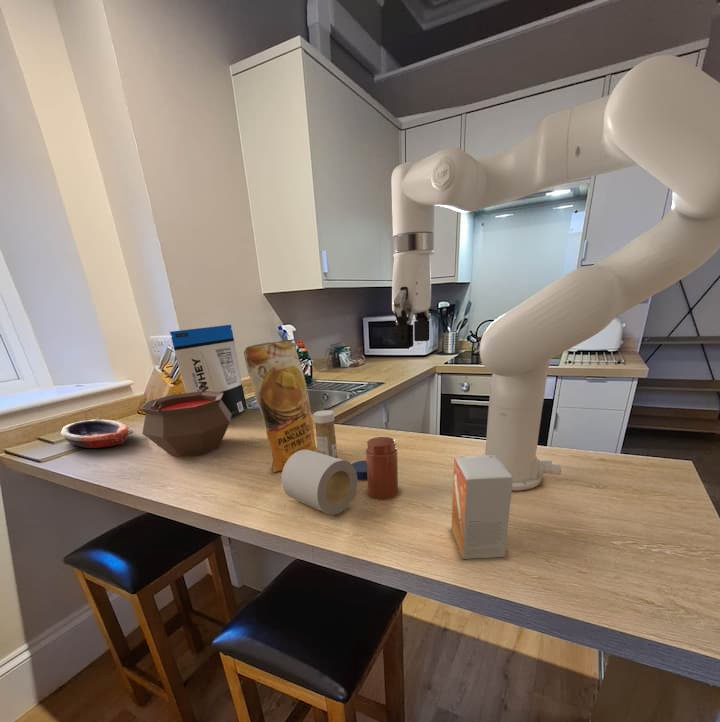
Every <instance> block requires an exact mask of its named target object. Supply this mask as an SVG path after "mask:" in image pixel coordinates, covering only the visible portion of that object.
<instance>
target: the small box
mask: <svg viewBox="0 0 720 722" xmlns="http://www.w3.org/2000/svg"><path fill="white" fill-rule="evenodd" d="M512 482H513V476H512V475H511V474H510V473H509V471H508V470H507V469H506V467H505V466H504V464H502V463H501V462H500V460H499V459H498V458H497V457H496V456H495V455H485V454H484V455H471V456H469V455H468V456H459V457H454V458H453V478H452V502H451V503H452V505H451V527H450V528H451V532H452V534H453V537H454V539H455V541H456V542H455V543H456V544H457V547H458V550H459V552H460V555H461V558H462V559H463V560H472V559H491V558H492V559H493V558H504V557H505V556H506V548H507V539H508V529H509V519H510V510H511V502H512V501H511V500H512V491H513V490H512Z"/></svg>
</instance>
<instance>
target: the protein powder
mask: <svg viewBox="0 0 720 722" xmlns="http://www.w3.org/2000/svg"><path fill="white" fill-rule="evenodd" d="M169 333H170V334H169V335H170V336H171V337H170V338H171V343H172V346H173V350H174V354H175V358H176V362H177V365H178V369H179V374H180V377H181V381H182V384H183V388H184V393H191V392H200V391H201V390H200V389H199V388H198V386H199V385H200V383H201V382H202V383H203V384H204V385H205V386H207V389H206V390H205V391H209V392H220V393H223V396H222V398H221V400H222V401H223V403H224V404H225V406H226V407H227V408H228V410H229V411H230V413H231V414H232V416H231V419H234V418H235V417H239V416H240V415H241V414H243V413H244V412H245V411H246V410H248V407H247V401H246V397H245V393H244V392H245V391H244V386H243V382H242V377H241V371H240V365H239V360H238V354H237V349H236V343H235V338H234V332H233V329H232V324H223V325H216V326H215V325H214V326H208V327H207V326H206V327H198V328H191V329H190V328H189V329H182V330H181V329H180V330H173V331H169ZM201 388H202V389H204V387H203V386H201Z"/></svg>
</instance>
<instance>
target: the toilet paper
mask: <svg viewBox="0 0 720 722" xmlns="http://www.w3.org/2000/svg"><path fill="white" fill-rule="evenodd" d="M358 481H359V480H357V473H356V470H355V468H354V466H353V465H352V463H351V462H350V461H347V460H344V459H342V458H334V457H331V456H328V455H324V454H321V453H318V451H316V452H314V451H311V450H300V451H298V452H296V453H294V454H293V455H292V456H291V457H290V458H289V459H288V460H287V462H286V464H285V466H284V468H283V471H282V472H281V487H282V490H283V492H284V493H285V495H286V496H287V497H289V498H290V499H292V500H295V501H297V502H298V503H299V502H300V503H302V504H304V505H305V506H306V505H307V506H308V507H311V508H313V509H316V510H318V511H320V512H323V513H325V514H327V515H331V516H333V515H338V514H340V513H342V512H344V511H345V510H346V509H347V508H348V507H349V506H350V504H351V503H352V502H353V500H354V498H355V496H356V492H357V488H358Z"/></svg>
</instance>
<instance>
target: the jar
mask: <svg viewBox="0 0 720 722" xmlns="http://www.w3.org/2000/svg"><path fill="white" fill-rule="evenodd" d="M396 445H397V444H396V440H395V439H394V438H393V437H388V436H376V437H372V438H369V439H368V440H367V441H366V446H367V447H366V450H365V460H366V465H367V480H366V481H367V494H368V496H369V497H370V498H373V499H375V500H376V499H377V500H389V499H393V498H395V497H396V496H397V495H398V494H399V468H398V467H399V464H398V449H397V447H396Z"/></svg>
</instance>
